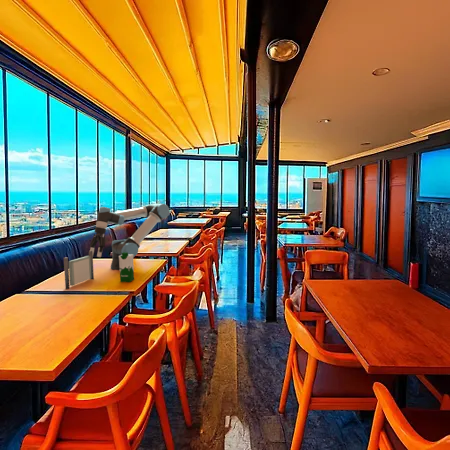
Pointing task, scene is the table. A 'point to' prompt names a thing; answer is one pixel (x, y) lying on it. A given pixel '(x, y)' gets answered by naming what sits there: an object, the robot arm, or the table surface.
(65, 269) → the posts
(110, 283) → the table surface
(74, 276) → the beige framed panel
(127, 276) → the milk carton
